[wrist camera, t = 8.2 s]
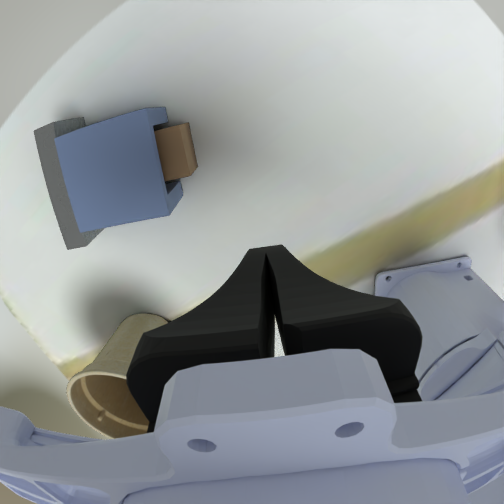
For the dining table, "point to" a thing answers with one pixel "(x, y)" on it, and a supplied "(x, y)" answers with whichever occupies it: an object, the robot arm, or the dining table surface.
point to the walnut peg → (176, 151)
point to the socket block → (116, 171)
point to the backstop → (61, 181)
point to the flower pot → (112, 383)
